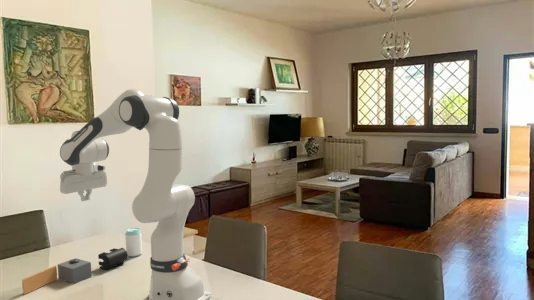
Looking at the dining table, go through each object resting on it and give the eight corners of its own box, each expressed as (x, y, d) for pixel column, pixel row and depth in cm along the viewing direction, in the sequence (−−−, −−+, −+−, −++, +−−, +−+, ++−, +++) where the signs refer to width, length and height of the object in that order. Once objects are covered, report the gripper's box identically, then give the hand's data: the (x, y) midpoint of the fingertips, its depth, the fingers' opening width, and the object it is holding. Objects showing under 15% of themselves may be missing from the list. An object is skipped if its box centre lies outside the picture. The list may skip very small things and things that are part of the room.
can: (145, 252, 187) (143, 227, 186) (138, 257, 180) (136, 231, 179) (131, 251, 188) (129, 227, 187) (123, 257, 181) (122, 231, 180)
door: (24, 294, 144) (23, 279, 144) (21, 293, 145) (20, 279, 144) (57, 279, 157) (56, 265, 157) (54, 278, 158) (53, 265, 157)
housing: (91, 276, 159) (90, 260, 159) (73, 283, 153) (72, 267, 152) (76, 272, 165) (75, 256, 164) (58, 279, 158) (57, 263, 157)
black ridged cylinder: (109, 271, 165) (108, 255, 164) (98, 268, 168) (97, 253, 167) (128, 263, 173) (127, 248, 173) (116, 261, 177) (116, 246, 176)
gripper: (65, 172, 157) (67, 206, 158) (108, 165, 174) (110, 196, 176) (55, 171, 160) (57, 204, 161) (99, 165, 178) (100, 195, 179)
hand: (85, 200), depth 169 cm, fingers closed
